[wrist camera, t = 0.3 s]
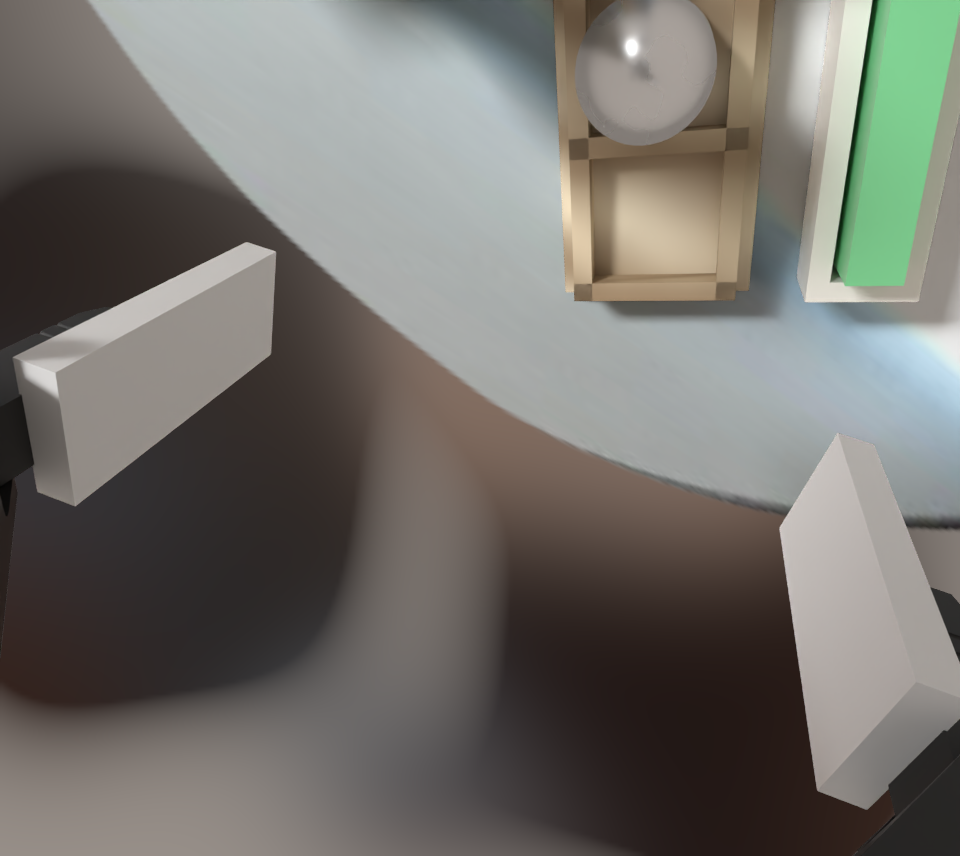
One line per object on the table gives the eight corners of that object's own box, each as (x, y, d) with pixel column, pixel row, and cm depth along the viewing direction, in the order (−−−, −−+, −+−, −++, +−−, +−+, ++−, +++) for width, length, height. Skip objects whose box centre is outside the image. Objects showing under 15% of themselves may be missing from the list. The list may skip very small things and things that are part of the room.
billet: (605, 1, 33) (572, -1, 25) (717, -13, 31) (721, -20, 23) (607, 116, 35) (576, 149, 27) (710, 108, 34) (712, 141, 26)
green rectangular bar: (891, -139, 27) (916, -158, 24) (961, -150, 27) (997, -172, 23) (831, 260, 35) (845, 286, 32) (885, 259, 35) (903, 285, 31)
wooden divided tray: (557, -34, 34) (545, -37, 31) (778, -66, 31) (784, -72, 29) (569, 283, 42) (561, 301, 39) (747, 281, 39) (750, 300, 36)
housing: (852, -170, 29) (871, -193, 25) (993, -195, 27) (1033, -223, 24) (796, 276, 38) (804, 302, 35) (899, 275, 37) (918, 301, 33)
